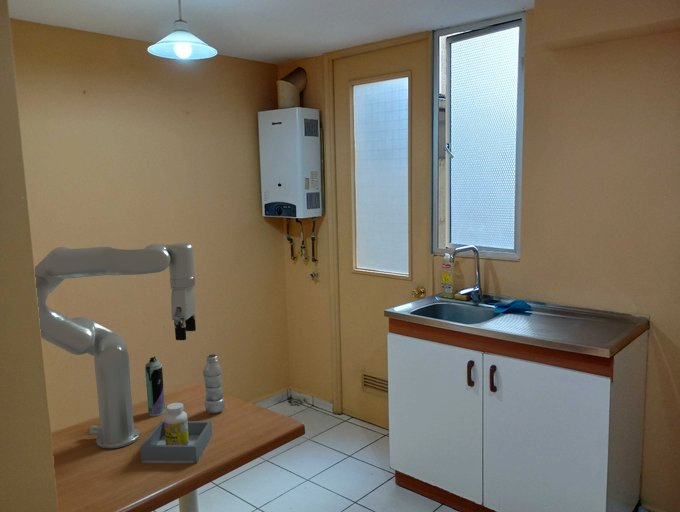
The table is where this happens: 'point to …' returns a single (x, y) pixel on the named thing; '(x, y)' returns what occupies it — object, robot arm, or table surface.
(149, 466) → the table surface
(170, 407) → the supplement bottle
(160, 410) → the spray can
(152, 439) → the box
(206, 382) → the plastic bottle
